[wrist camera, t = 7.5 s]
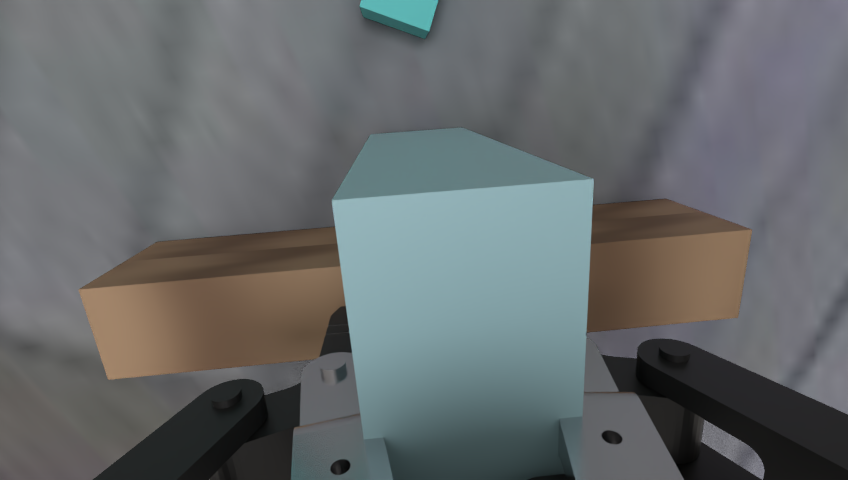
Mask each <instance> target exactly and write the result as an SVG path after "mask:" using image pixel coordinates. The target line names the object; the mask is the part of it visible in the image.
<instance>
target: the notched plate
mask: <svg viewBox="0 0 848 480" xmlns="http://www.w3.org/2000/svg"><path fill="white" fill-rule="evenodd" d="M593 186H594V179H593V178H590V177H587V176H585V175H582V174H580V173H577V172H575V171H572V170H570V169H567V168H565V167H562V166H559V165H557V164H554V163H552V162H549V161H547V160H544V159H542V158H539V157H536V156H534V155H531V154H529V153H526V152H524V151H521V150H519V149H516V148H513V147H511V146H508V145H506V144H503V143H501V142H498V141H496V140H493V139H491V138H488V137H485V136H483V135H480V134H478V133H475V132H473V131H470V130H468V129H465V128H462V127H461V128H447V129H434V130H421V131H408V132H394V133H381V134H371V135H370V136H369V138H368V140H367V141H366V143H365V145H364V146H363V148H362V150H361V152H360V153H359V155H358V157H357V158H356V160H355V162H354V163H353V165H352V167H351V169H350V170H349V172H348V174H347V175H346V177H345V179H344V180H343V182H342V184H341V186H340V187H339V189H338V191H337V192H336V194H335V196H334V197H333V199H332V206H333V214H334V221H335V229H336V236H337V244H338V251H339V258H340V266H341V273H342V281H343V288H344V296H345V303H346V311H347V318H348V326H349V333H350V340H351V348H352V355H353V363H354V370H355V378H356V385H357V393H358V400H359V407H360V415H361V422H362V430H363V437H364V439H373V438H383V437H384V441H385V445H386V449H387V454H388V458H389V463H390V467H391V472H392V476H393V480H528V479H530V478H533V477H539V476H548V475H557V474H564V470H563V466H562V463H561V460H560V458H559V457H558V437H559V419H561V418H570V417H579V416H583V395H584V374H585V353H586V332H587V311H588V291H589V270H590V249H591V228H592V207H593Z"/></svg>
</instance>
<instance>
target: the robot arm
mask: <svg viewBox="0 0 848 480" xmlns="http://www.w3.org/2000/svg"><path fill="white" fill-rule="evenodd" d="M704 419H705V420H706V421H708V422H710V423H712V424H713V425H715V426H717V427H718V428H720V429H722V430H724V431H725V432H727V433H729V434H731V435H732V436H734V437H736V438H737V439H739V440H741V441H743V442H744V443H746V444H747V445H749V446H750V447H751V448H752V449H753V450H754V451H755V452H756V453H757V454H758V455H759V457H760V458H761V460H762V462H763V465H764V469H765V472H764V478H763V480H848V415H847V414H845V413H843V412H841V411H838V410H836V409H834V408H832V407H829V406H827V405H825V404H823V403H821V402H818V401H816V400H814V399H812V398H809V397H807V396H805V395H803V394H800V393H798V392H796V391H794V390H792V389H789V388H787V387H785V386H783V385H780V384H778V383H776V382H774V381H771V380H769V379H767V378H765V377H763V376H760V375H758V374H756V373H754V372H751V371H749V370H747V369H745V368H742V367H740V366H738V365H736V364H734V363H731V362H729V361H727V360H725V359H722V358H720V357H718V356H716V355H713V354H711V353H709V352H707V351H705V350H702V349H700V348H698V347H696V346H693V345H691V344H688V343H685V342H682V341H677V340H672V339H652V340H648V341H645V342H643V343H641V344H640V345H639V347H638V351H637V359H634V358H623V357H613V356H606V355H601V354H600V352H599V350H598V348H597V346H596V344H595V343H594V342H593V341H592V340H590V339H589V338H587V337H586V353H585V374H584V395H583V416H579V417H570V418H561V419H559V437H558V457H559V458H560V460H561V463H562V466H563V470H564V474H557V475H548V476H539V477H533V478H530V479H528V480H761V479H760V478H758V477H756V476H755V475H753V474H752V473H750V472H748V471H747V470H745V469H744V468H742V467H740V466H739V465H737V464H736V463H734V462H732V461H731V460H729V459H728V458H726V457H724V456H723V455H721V454H720V453H718V452H716V451H715V450H713V449H712V448H710V447H709V446H707V445H705V444H704V443H702V442H701V439H702V432H703V426H704ZM209 479H210V480H393V476H392V472H391V467H390V463H389V458H388V454H387V449H386V445H385V441H384V437H383V438H373V439H364V437H363V430H362V422H361V415H360V407H359V400H358V393H357V385H356V378H355V370H354V363H353V355H352V348H351V340H350V333H349V326H348V318H347V311H346V306H342V307H339V308H338V309H337V310H336V311H335V312H334V313H333V314H332V315H331V317H330V320H329V324H328V327H327V331H326V335H325V338H324V342H323V345H322V349H321V352H320V356H319V357H318V358H316V359H314V360H313V361H311V362H310V363H309V364H307V365H306V366H305V368H304V369H303V371H302V374H301V383H299V384H297V385H295V386H293V387H290V388H287V389H284V390H281V391H278V392H274V393H271V394H268V395H264V391H263V387H262V385H261V384H260V383H259V382H257V381H254V380H249V379H238V380H232V381H228V382H224V383H221V384H219V385H216V386H214V387H212V388H210V389H209V390H207V391H205V392H204V393H203V394H201V395H200V396H199V397H197V398H196V399H195V400H194V401H192V402H191V403H190V404H188V405H187V406H186V407H185V408H183V409H182V410H181V411H180V412H178V413H177V414H176V415H174V416H173V417H172V418H171V419H169V420H168V421H167V422H166V423H164V424H163V425H162V426H160V427H159V428H158V429H157V430H155V431H154V432H153V433H152V434H150V435H149V436H148V437H146V438H145V439H144V440H143V441H141V442H140V443H139V444H138V445H136V446H135V447H134V448H132V449H131V450H130V451H129V452H127V453H126V454H125V455H124V456H122V457H121V458H120V459H118V460H117V461H116V462H115V463H113V464H112V465H111V466H110V467H108V468H107V469H106V470H104V471H103V472H102V473H101V474H99V475H98V476H97V477H96V478H94V479H93V480H209Z"/></svg>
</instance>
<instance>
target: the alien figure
mask: <svg viewBox="0 0 848 480" xmlns="http://www.w3.org/2000/svg"><path fill="white" fill-rule="evenodd" d="M437 3H438V0H361V3H360V9H361V12H362V15H363V17H365V18H367V19H370V20H373V21H376V22H379V23H381V24H384V25H387V26H390V27H393V28H395V29H398V30H401V31H404V32H407V33H409V34H412V35H415V36H418V37H421V38H423V39H425V38H426V36H427V34H428V33H429V30H430V27H431V23H432V20H433V16H434V13H435V10H436V6H437Z"/></svg>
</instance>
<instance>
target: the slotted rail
mask: <svg viewBox="0 0 848 480" xmlns="http://www.w3.org/2000/svg"><path fill="white" fill-rule="evenodd" d="M751 234H752V229H749V228H746V227H743V226H741V225H738V224H735V223H732V222H729V221H727V220H724V219H721V218H718V217H715V216H713V215H710V214H707V213H704V212H702V211H699V210H696V209H693V208H690V207H688V206H685V205H682V204H679V203H676V202H674V201H671V200H668V199H657V200H645V201H633V202H622V203H610V204H598V205H593V207H592V228H591V249H590V270H589V291H588V311H587V332H597V331H607V330H617V329H627V328H637V327H648V326H658V325H668V324H678V323H688V322H698V321H708V320H719V319H729V318H738V314H739V308H740V302H741V296H742V290H743V283H744V277H745V271H746V265H747V259H748V252H749V246H750V240H751ZM79 293H80V296H81V299H82V302H83V305H84V308H85V311H86V314H87V317H88V320H89V323H90V326H91V329H92V332H93V335H94V338H95V341H96V344H97V347H98V350H99V353H100V356H101V359H102V362H103V365H104V368H105V371H106V374H107V377H108V380H110V379H120V378H130V377H140V376H150V375H161V374H171V373H181V372H191V371H201V370H211V369H221V368H232V367H242V366H252V365H262V364H272V363H282V362H292V361H303V360H313V359H316V358H318V357H319V356H320V352H321V349H322V345H323V342H324V338H325V335H326V331H327V327H328V324H329V320H330V317H331V315H332V314H333V313H334V312H335V311H336V310H337V309H338V308H339V307H342V306H346V303H345V296H344V288H343V281H342V273H341V266H340V258H339V251H338V244H337V236H336V229H335V227H327V228H315V229H303V230H292V231H280V232H268V233H256V234H244V235H233V236H221V237H209V238H197V239H185V240H174V241H162V242H156V243H155V244H153V245H151V246H150V247H148V248H146V249H145V250H143V251H141V252H140V253H138V254H136V255H135V256H133V257H131V258H130V259H128V260H127V261H125V262H123V263H122V264H120V265H118V266H117V267H115V268H113V269H112V270H110V271H108V272H107V273H105V274H103V275H102V276H100V277H98V278H97V279H95V280H94V281H92V282H90V283H89V284H87V285H85V286H84V287H82V288H80V289H79ZM587 332H586V333H587Z"/></svg>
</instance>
